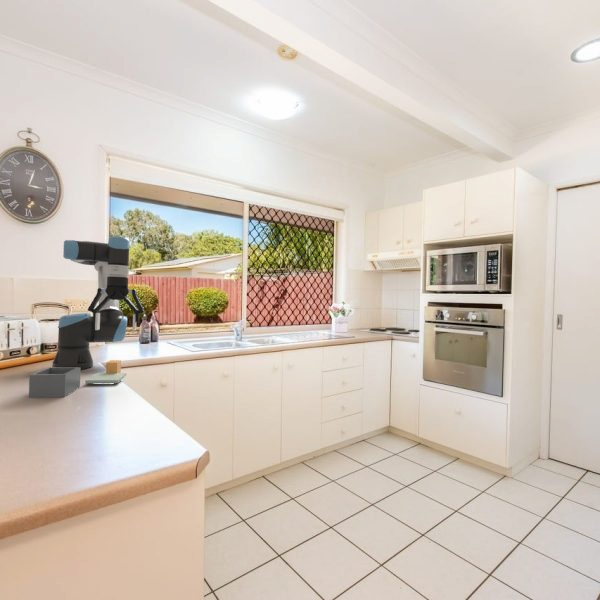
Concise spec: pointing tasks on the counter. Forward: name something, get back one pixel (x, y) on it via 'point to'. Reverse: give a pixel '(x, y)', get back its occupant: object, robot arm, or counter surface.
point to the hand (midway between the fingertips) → (116, 330)
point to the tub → (54, 382)
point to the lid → (108, 374)
